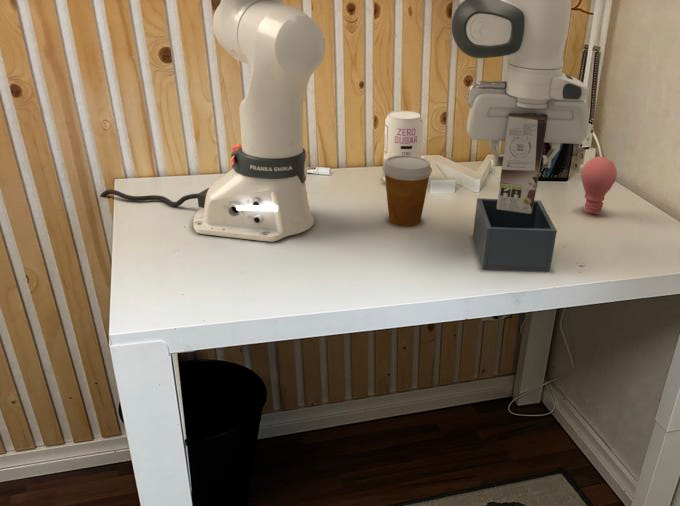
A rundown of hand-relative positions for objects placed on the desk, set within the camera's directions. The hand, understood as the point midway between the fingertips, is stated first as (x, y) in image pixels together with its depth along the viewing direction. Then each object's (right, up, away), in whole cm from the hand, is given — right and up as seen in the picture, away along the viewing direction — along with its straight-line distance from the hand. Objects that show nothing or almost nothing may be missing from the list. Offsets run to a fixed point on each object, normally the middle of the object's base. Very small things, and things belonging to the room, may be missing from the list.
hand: (521, 166), depth 127 cm
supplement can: (-22, +6, +39) cm, 45 cm away
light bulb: (+19, -3, +29) cm, 35 cm away
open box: (-1, -14, +9) cm, 17 cm away
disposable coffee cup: (-21, -6, +19) cm, 29 cm away
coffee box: (0, -6, +4) cm, 7 cm away
